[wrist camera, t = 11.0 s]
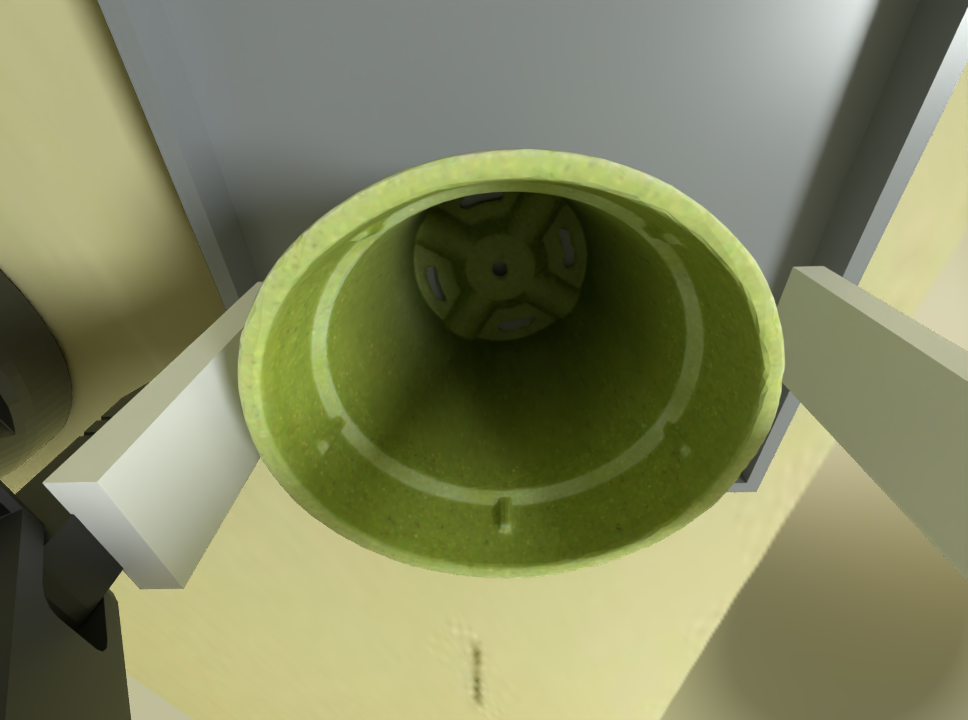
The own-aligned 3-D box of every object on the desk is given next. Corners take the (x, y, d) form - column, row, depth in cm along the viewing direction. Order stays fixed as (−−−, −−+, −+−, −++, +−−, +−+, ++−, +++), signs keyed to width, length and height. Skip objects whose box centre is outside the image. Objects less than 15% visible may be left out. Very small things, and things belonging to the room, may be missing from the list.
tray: (734, 456, 21) (756, 491, 19) (318, 462, 22) (303, 496, 20) (1008, -200, 9) (1125, -260, 8) (98, -148, 10) (18, -192, 8)
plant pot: (309, 168, 13) (98, 283, 6) (615, 51, 12) (817, 24, 4) (425, 393, 18) (383, 603, 11) (651, 335, 17) (774, 540, 9)
